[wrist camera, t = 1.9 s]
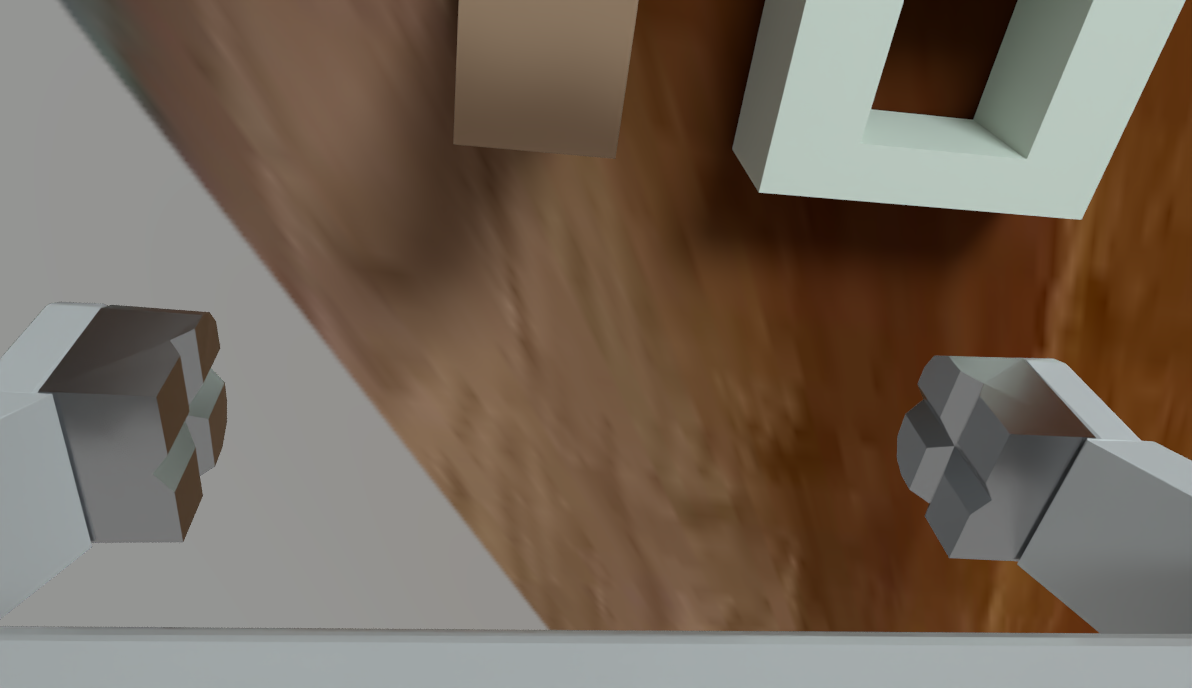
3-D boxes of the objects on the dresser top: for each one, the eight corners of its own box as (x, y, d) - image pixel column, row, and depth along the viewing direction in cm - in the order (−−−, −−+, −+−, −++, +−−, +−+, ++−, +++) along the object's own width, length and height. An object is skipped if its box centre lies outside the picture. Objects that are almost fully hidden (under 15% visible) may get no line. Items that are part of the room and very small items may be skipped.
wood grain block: (472, -92, 27) (460, -32, 19) (597, -76, 28) (640, -11, 19) (466, 38, 29) (453, 144, 21) (583, 50, 30) (615, 158, 21)
